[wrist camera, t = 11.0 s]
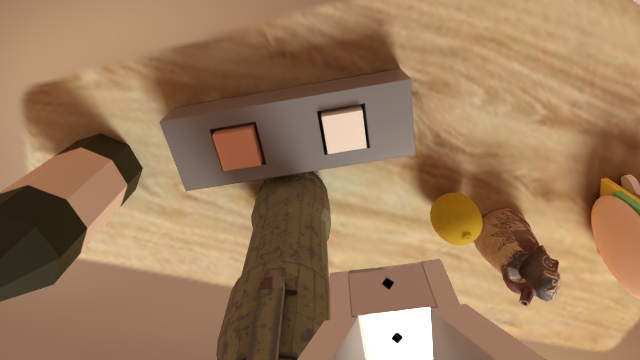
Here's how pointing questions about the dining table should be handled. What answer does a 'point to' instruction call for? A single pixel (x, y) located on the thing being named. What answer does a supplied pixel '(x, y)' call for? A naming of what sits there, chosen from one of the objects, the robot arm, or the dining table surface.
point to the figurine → (518, 255)
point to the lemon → (456, 218)
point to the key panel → (293, 128)
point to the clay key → (238, 146)
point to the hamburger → (619, 230)
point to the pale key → (344, 129)
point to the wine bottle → (61, 211)
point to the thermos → (281, 273)
